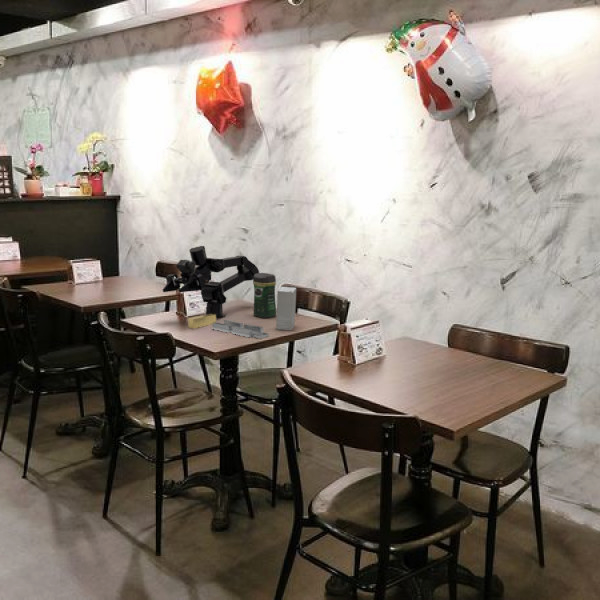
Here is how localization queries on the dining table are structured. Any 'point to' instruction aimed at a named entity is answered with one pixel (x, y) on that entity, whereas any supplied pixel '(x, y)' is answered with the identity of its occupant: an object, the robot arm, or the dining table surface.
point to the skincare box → (286, 308)
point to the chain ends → (240, 329)
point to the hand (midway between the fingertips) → (171, 291)
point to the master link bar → (201, 320)
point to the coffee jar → (264, 295)
